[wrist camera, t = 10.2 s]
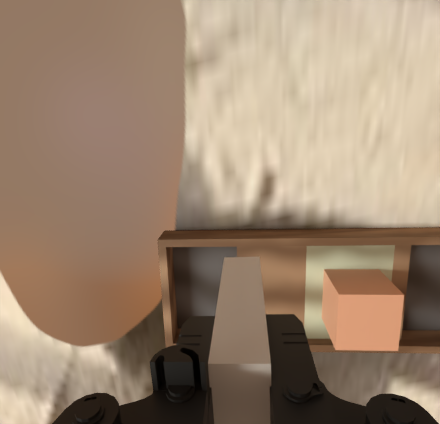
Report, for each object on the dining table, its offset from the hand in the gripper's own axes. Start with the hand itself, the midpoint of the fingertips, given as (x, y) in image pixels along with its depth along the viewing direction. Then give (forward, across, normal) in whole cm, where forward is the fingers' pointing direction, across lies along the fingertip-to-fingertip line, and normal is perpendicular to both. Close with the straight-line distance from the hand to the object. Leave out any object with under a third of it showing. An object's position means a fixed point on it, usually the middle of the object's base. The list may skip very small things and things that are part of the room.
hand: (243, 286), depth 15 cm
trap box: (+31, +10, -16) cm, 36 cm away
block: (+28, +13, -16) cm, 35 cm away
